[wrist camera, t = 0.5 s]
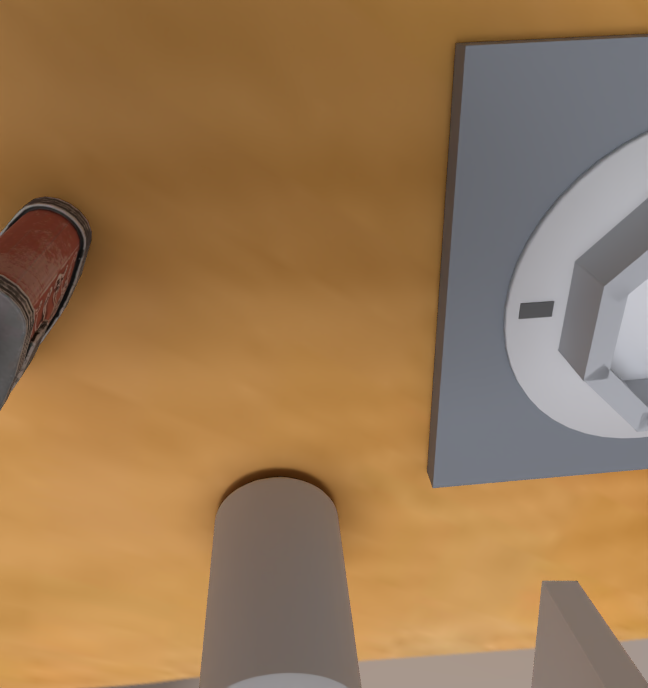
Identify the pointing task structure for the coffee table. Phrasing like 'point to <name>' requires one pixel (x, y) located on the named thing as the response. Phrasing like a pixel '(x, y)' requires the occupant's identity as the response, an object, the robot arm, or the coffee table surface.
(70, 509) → the coffee table surface
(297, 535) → the beverage can
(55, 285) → the brown piece
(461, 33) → the coffee table surface
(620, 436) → the board
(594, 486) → the coffee table surface
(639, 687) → the robot arm
